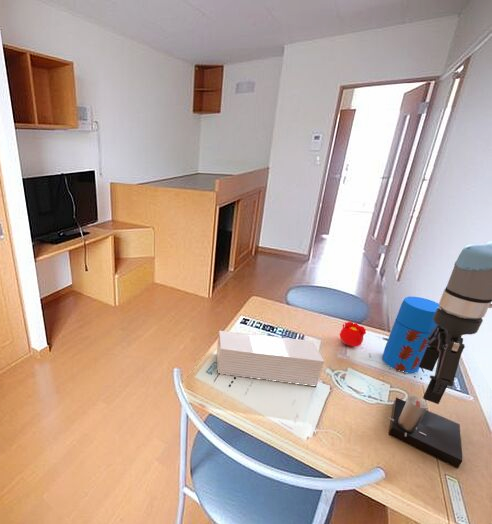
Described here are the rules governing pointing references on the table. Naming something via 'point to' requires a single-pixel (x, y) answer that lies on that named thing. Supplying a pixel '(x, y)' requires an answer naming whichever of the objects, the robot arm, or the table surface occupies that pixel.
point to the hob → (430, 435)
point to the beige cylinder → (412, 414)
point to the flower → (352, 334)
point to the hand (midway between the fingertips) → (427, 383)
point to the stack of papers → (268, 358)
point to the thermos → (410, 334)
